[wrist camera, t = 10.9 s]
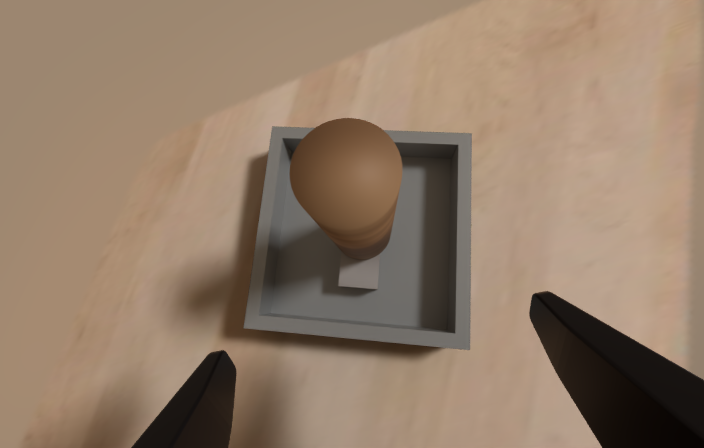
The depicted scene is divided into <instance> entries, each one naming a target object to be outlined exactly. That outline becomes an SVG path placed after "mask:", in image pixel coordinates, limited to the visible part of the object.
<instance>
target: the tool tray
mask: <svg viewBox="0 0 704 448" xmlns="http://www.w3.org/2000/svg"><path fill="white" fill-rule="evenodd" d="M313 129H315V128H301V127H273V126H272V132H271V139H270V146H269V153H268V160H267V167H266V174H265V181H264V188H263V195H262V202H261V209H260V216H259V224H258V231H257V238H256V245H255V252H254V259H253V266H252V273H251V280H250V287H249V294H248V301H247V308H246V315H245V322H244V328H247V329H258V330H268V331H278V332H288V333H299V334H309V335H319V336H330V337H340V338H350V339H361V340H371V341H381V342H391V343H402V344H412V345H422V346H433V347H443V348H453V349H464V350H470V289H471V156H472V133H445V132H417V131H388V130H383V131H385V132H386V133H387V134H388V135H389V136H390V137H391V139H392V140H393V141H394V143H395V144H396V146H397V148H398V150H399V153H400V156H401V160H402V180H401V185H400V190H399V195H398V200H397V206H396V211H395V216H394V221H393V226H392V231H391V236H390V240H389V243H388V245H387V246H386V248H385V249H384V250H383V251H382V252H381V253H380V260H379V276H378V290H377V289H365V288H353V287H341V286H338V284H339V273H340V262H341V250H340V249H339V248H338V247H337V246H336V244H335V243H334V242H333V241H332V240H331V239H330V238H329V237H328V235H327V234H326V233H325V232H324V231H323V230H322V229H321V228H320V227H319V225H318V224H317V223H316V222H315V221H314V220H313V219H312V218H311V216H310V215H309V214H308V213H307V212H306V211H305V210H304V209H303V208H302V206H301V205H300V204H299V202H298V201H297V199H296V197H295V195H294V193H293V191H292V188H291V183H290V164H291V160H292V157H293V154H294V152H295V150H296V148H297V146H298V145H299V143H300V142H301V140H302V139H303V138H304V137H305V136H306V135H307V134H308V133H309V132H310V131H312V130H313Z"/></svg>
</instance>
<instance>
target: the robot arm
mask: <svg viewBox="0 0 704 448" xmlns="http://www.w3.org/2000/svg"><path fill="white" fill-rule="evenodd" d="M529 314H530V319H531V322H532V324H533V326H534V328H535V330H536V332H537V334H538V336H539V338H540V340H541V343H542V345H543V347H544V349H545V351H546V353H547V355H548V357H549V359H550V361H551V363H552V365H553V367H554V369H555V371H556V373H557V375H558V376H559V378H560V380H561V381H562V383H563V385H564V386H565V388H566V390H567V391H568V393H569V394H570V396H571V398H572V399H573V401H574V403H575V404H576V406H577V407H578V409H579V411H580V412H581V414H582V416H583V417H584V419H585V420H586V422H587V424H588V425H589V427H590V428H591V430H592V432H593V433H594V435H595V437H596V438H597V440H598V441H599V443H600V445H601V446H602V448H704V380H703V379H701V378H699V377H698V376H696V375H694V374H693V373H691V372H689V371H687V370H686V369H684V368H682V367H680V366H679V365H677V364H675V363H673V362H672V361H670V360H668V359H666V358H665V357H663V356H661V355H659V354H658V353H656V352H654V351H652V350H651V349H649V348H647V347H645V346H644V345H642V344H640V343H639V342H637V341H635V340H633V339H632V338H630V337H628V336H626V335H625V334H623V333H621V332H619V331H618V330H616V329H614V328H612V327H611V326H609V325H607V324H605V323H604V322H602V321H600V320H598V319H597V318H595V317H593V316H591V315H590V314H588V313H586V312H584V311H583V310H581V309H579V308H578V307H576V306H574V305H572V304H571V303H569V302H567V301H565V300H564V299H562V298H560V297H558V296H557V295H555V294H553V293H551V292H548V291H544V292H539V293H535V294H533V296H532V300H531V306H530V313H529ZM235 384H236V368H235V365H234V364H233V362H232V360H231V359H230V357H229V356H228V354H227V353H226V351H224V350H221V351H216V352H211V353H210V354H208V355H207V357H206V358H205V359H204V360H203V361H202V363H201V364H200V365H199V366H198V368H197V369H196V370H195V371H194V372H193V374H192V375H191V376H190V377H189V378H188V380H187V381H186V382H185V383H184V384H183V386H182V387H181V388H180V389H179V391H178V392H177V393H176V394H175V395H174V397H173V398H172V399H171V400H170V401H169V403H168V404H167V405H166V406H165V407H164V409H163V410H162V411H161V412H160V414H159V415H158V416H157V417H156V418H155V420H154V421H153V422H152V423H151V424H150V426H149V427H148V428H147V429H146V430H145V432H144V433H143V434H142V435H141V437H140V438H139V439H138V440H137V441H136V443H135V444H134V445H133V446H132V447H131V448H228V445H229V440H230V434H231V428H232V419H233V408H234V396H235Z"/></svg>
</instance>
